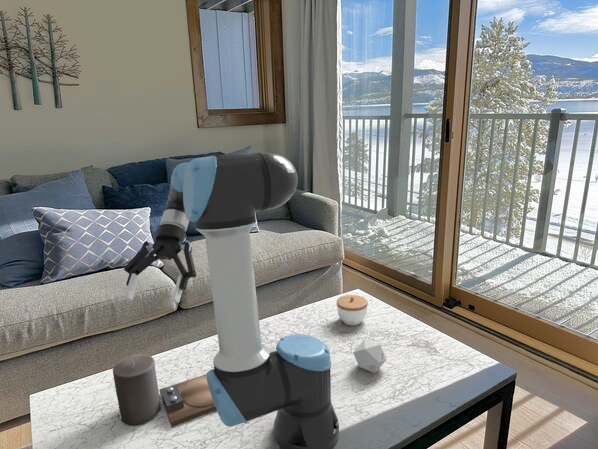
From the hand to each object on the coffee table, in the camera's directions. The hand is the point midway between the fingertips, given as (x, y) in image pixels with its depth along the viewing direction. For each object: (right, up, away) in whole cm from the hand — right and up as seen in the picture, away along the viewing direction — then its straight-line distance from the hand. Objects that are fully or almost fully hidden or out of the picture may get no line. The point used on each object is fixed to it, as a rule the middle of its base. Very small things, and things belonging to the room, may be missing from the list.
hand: (151, 299), depth 108 cm
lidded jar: (+57, -15, +38) cm, 70 cm away
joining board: (+14, -26, +2) cm, 29 cm away
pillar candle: (-1, -28, -4) cm, 28 cm away
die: (+59, -22, +11) cm, 64 cm away
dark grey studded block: (+14, -24, +1) cm, 28 cm away
